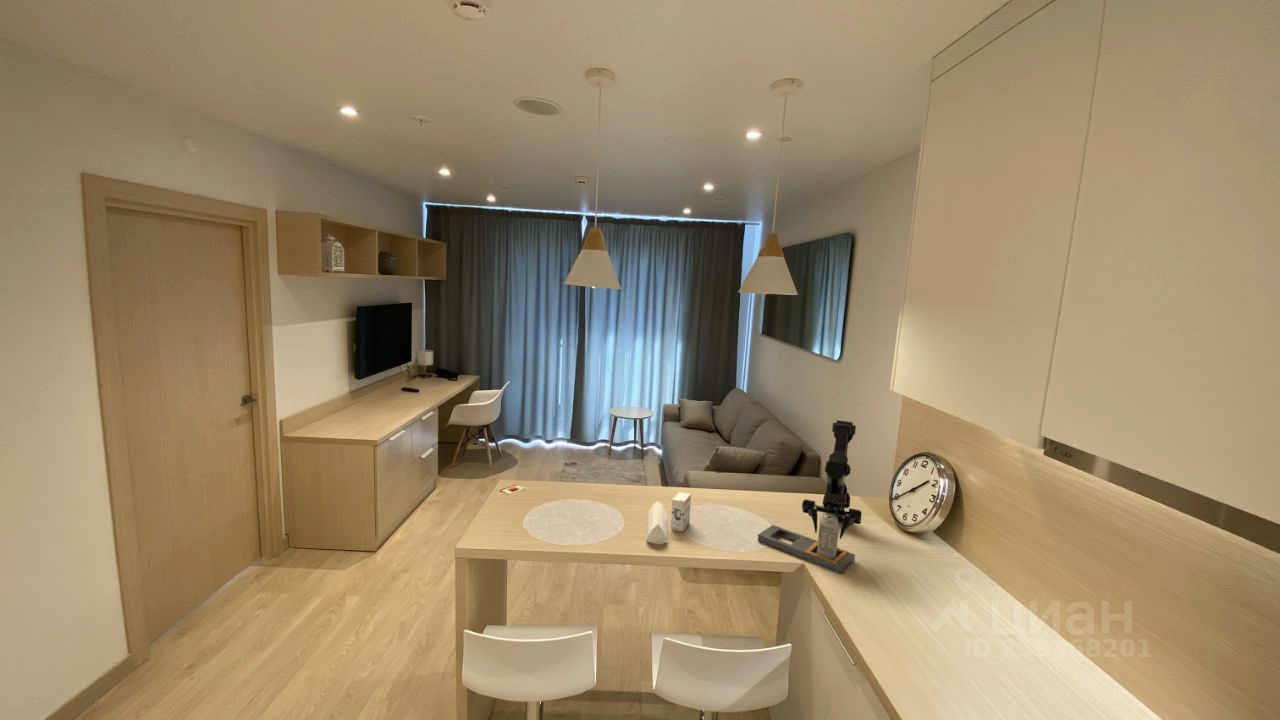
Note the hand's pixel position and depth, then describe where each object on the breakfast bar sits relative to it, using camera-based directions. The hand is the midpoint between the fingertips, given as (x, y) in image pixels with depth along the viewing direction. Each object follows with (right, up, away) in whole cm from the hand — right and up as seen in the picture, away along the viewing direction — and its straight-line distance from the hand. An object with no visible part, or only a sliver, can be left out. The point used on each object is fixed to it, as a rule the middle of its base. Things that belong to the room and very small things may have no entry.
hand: (827, 535), depth 169 cm
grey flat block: (-5, -8, +7) cm, 12 cm away
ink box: (-47, -4, +23) cm, 53 cm away
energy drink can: (0, -9, +3) cm, 9 cm away
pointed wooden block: (-56, -5, +19) cm, 59 cm away
